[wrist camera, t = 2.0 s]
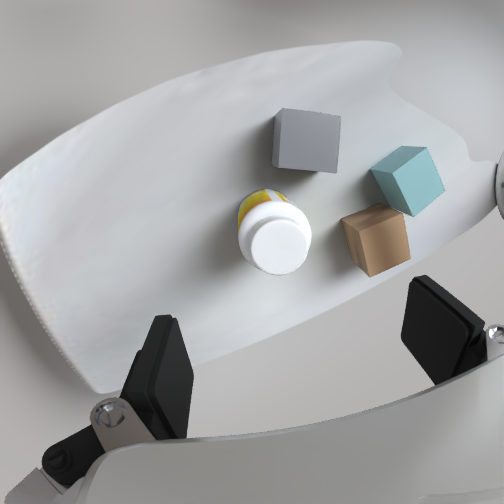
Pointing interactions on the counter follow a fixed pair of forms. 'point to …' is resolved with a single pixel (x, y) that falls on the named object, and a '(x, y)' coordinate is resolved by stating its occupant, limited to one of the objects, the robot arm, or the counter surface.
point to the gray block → (306, 140)
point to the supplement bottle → (273, 232)
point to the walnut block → (377, 238)
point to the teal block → (408, 179)
